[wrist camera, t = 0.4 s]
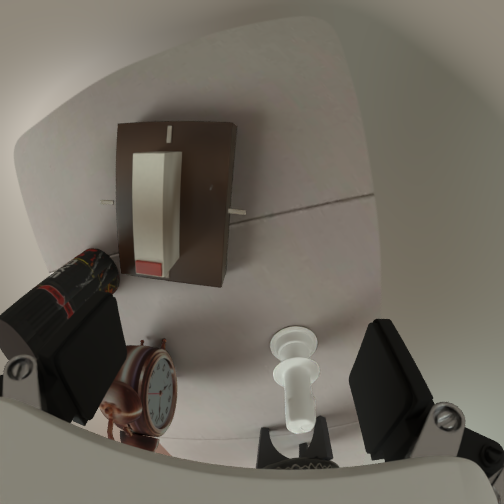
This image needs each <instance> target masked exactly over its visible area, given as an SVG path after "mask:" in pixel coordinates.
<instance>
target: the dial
mask: <svg viewBox="0 0 504 504" xmlns="http://www.w3.org/2000/svg"><path fill="white" fill-rule="evenodd" d="M181 165H182V152H173V151H153V152H141V153H133V176H132V205H133V236H134V253H135V266H136V274H143V275H150V276H157V277H165V276H166V274H167V273H168V272H169V270H170V269H171V268H172V266H173V265H174V264H175V263H176V261H177V260H178V259H179V224H180V186H181Z"/></svg>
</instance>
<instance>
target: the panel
mask: <svg viewBox="0 0 504 504" xmlns="http://www.w3.org/2000/svg"><path fill="white" fill-rule="evenodd" d="M236 133H237V126H236V125H235V124H234V123H230V122H207V121H159V122H136V123H121V124H118V130H117V149H116V213H117V233H118V247H119V258H120V268H121V274H126V275H132V276H139V277H145V278H152V279H159V280H166V281H173V282H181V283H188V284H196V285H204V286H212V287H220V288H221V287H222V284H223V281H224V278H225V275H226V266H227V250H228V234H229V220H230V213H231V214H242V215H246V210H240V209H230V206H231V193H232V180H233V168H234V156H235V145H236ZM153 151H173V152H182V165H181V186H180V224H179V259H178V260H177V261H176V263H175V264H174V265H173V266H172V268H171V269H170V270H169V272H168V273H167V274H166V276H165V277H157V276H150V275H143V274H136V266H135V253H134V236H133V205H132V176H133V153H141V152H153ZM101 204H108V205H114V200H101Z"/></svg>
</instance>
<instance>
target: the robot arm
mask: <svg viewBox="0 0 504 504" xmlns="http://www.w3.org/2000/svg"><path fill="white" fill-rule="evenodd" d="M37 355H38V357H39V358H38V359H37V360H35V359H34V357H32V356H30V355H26V354H24V355H18V356H15V357H13V358H12V359H10V360H9V361H8V362H7V364H6V366H5V368H4V373H3V375H0V504H504V450H503V448H502V447H501V446H500V444H499V443H497V442H495V441H494V440H491V439H489V438H487V437H485V436H483V435H480V434H478V433H476V432H474V431H472V430H470V429H468V428H466V427H465V417H464V414H463V412H462V411H461V410H460V409H459V408H458V407H457V406H455V405H454V404H452V403H448V402H440V403H436V404H434V402H433V400H432V399H433V396H432V395H431V392H430V390H429V388H428V386H427V384H426V383H425V380H424V379H423V377H422V375H421V373H420V371H419V369H418V367H417V365H416V363H415V362H414V360H413V358H412V356H411V354H410V353H409V351H408V349H407V347H406V346H405V344H404V342H403V340H402V338H401V337H400V335H399V333H398V331H397V330H396V328H395V326H394V325H393V323H392V321H391V320H390V319H375V320H374V321H373V323H369V325H368V327H367V330H366V333H365V336H364V339H363V342H362V344H361V347H360V350H359V352H358V355H357V358H356V360H355V363H354V365H353V368H352V370H351V373H350V376H349V385H350V388H351V392H352V396H353V400H354V404H355V407H356V411H357V415H358V419H359V424H360V428H361V432H362V436H363V441H364V445H365V449H366V452H367V453H370V454H371V459H372V460H379V459H385V462H384V463H378V464H371V465H363V466H354V467H343V468H331V469H312V470H274V469H255V468H242V467H232V466H223V465H216V464H209V463H203V462H197V461H191V460H186V459H181V458H176V457H172V456H167V455H163V454H159V453H155V452H151V451H147V450H144V449H140V448H137V447H133V446H130V445H127V444H124V443H120V442H117V441H114V440H112V439H109V438H106V437H103V436H100V435H98V434H95V433H93V432H90V431H88V430H85V429H82V428H80V427H77V426H75V425H73V424H70V423H71V421H72V420H73V421H74V422H76V423H79V424H81V425H83V426H85V425H86V423H87V421H88V420H91V419H92V418H93V417H94V415H95V413H96V411H97V409H98V407H99V406H100V404H101V402H102V400H103V398H104V397H105V395H106V393H107V391H108V390H109V388H110V386H111V384H112V383H113V381H114V379H115V377H116V376H117V374H118V372H119V370H120V369H121V367H122V365H123V364H124V362H125V360H126V358H127V348H126V344H125V340H124V335H123V331H122V326H121V321H120V317H119V311H118V306H117V301H116V298H115V297H113V295H112V293H110V292H104V291H96V292H95V293H94V294H93V295H92V296H91V297H90V298H89V299H88V300H87V301H86V302H85V303H84V304H83V305H82V306H81V307H80V308H79V309H78V310H77V311H76V312H75V313H74V314H73V315H72V316H71V317H70V318H69V319H68V320H67V321H66V322H65V323H64V324H63V325H62V326H61V327H60V328H59V329H58V330H57V331H56V332H55V333H54V335H53V336H52V337H51V338H50V339H49V340H48V341H47V342H46V343H45V344H44V345H43V347H42V348H41V349H40V350H39V351H38V352H37Z"/></svg>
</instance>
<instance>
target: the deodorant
mask: <svg viewBox="0 0 504 504" xmlns="http://www.w3.org/2000/svg"><path fill="white" fill-rule="evenodd" d="M118 285H119V273H118V270H117V267H116V265H115V264H114V262H113V261H112V259H111V258H110V257H109V256H108V255H107V254H106V253H104V252H103V251H101V250H99V249H88V250H86V251H84V252H83V253H81V254H80V255H78V256H77V257H75V258H74V259H72V260H71V261H70V262H68V263H67V264H65V265H64V266H62V267H61V268H60V269H58V270H57V271H56V272H54V273H53V274H51V275H50V276H49V277H47V278H46V279H45V280H43V281H42V282H41V283H39V284H38V285H37V286H36V287H34V288H33V289H32V290H30V291H29V292H28V293H27V294H25V295H24V296H23V297H22V298H20V299H19V300H18V301H17V302H15V303H14V304H13V305H12V306H11V307H9V308H8V309H7V310H6V311H5V312H3V313H2V314H1V315H0V348H1V350H2V352H3V353H4V355H5V356H6V357H7V359H8V360H10V359H12V358H13V357H15V356H18V355H24V354H26V355H30V356H32V357H34V359H35V360H37V359H38V358H39V357H38V355H37V352H38V351H39V350H40V349H41V348H42V347H43V345H44V344H45V343H46V342H47V341H48V340H49V339H50V338H51V337H52V336H53V335H54V333H55V332H56V331H57V330H58V329H59V328H60V327H61V326H62V325H63V324H64V323H65V322H66V321H67V320H68V319H69V318H70V317H71V316H72V315H73V314H74V313H75V312H76V311H77V310H78V309H79V308H80V307H81V306H82V305H83V304H84V303H85V302H86V301H87V300H88V299H89V298H90V297H91V296H92V295H93V294H94V293H95V292H96V291H104V292H110V293H112V294H113V293H114V292H115V291H116V290H117V288H118Z"/></svg>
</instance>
